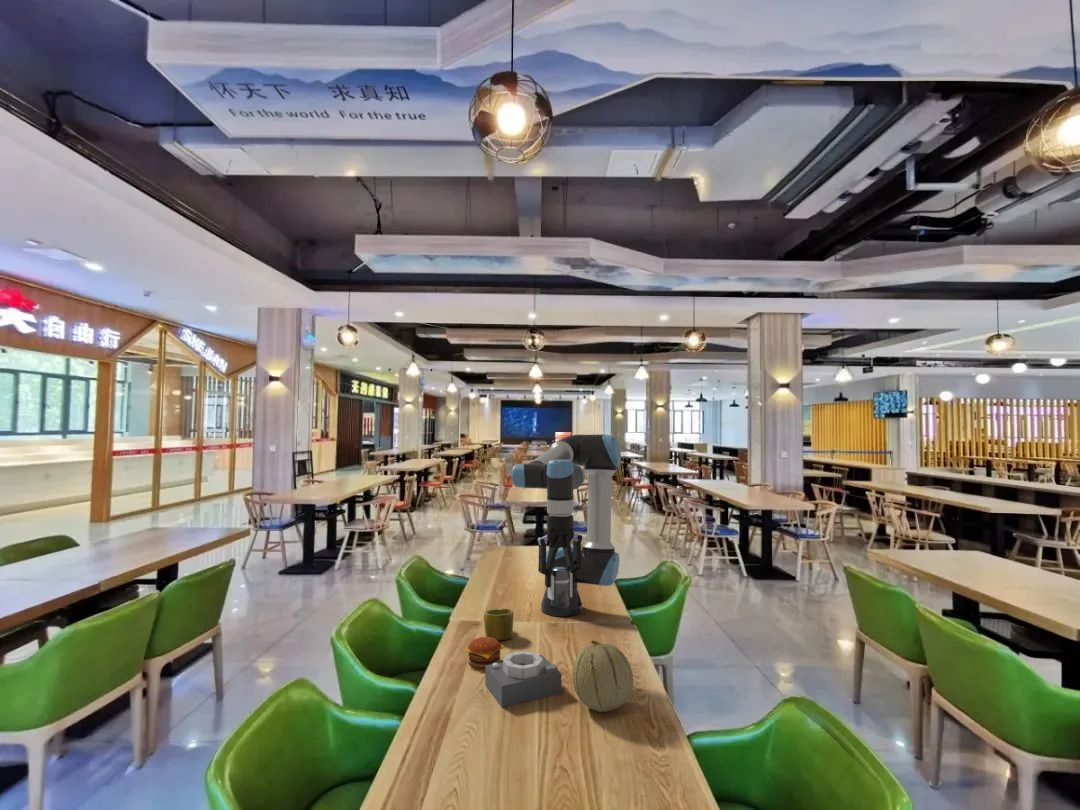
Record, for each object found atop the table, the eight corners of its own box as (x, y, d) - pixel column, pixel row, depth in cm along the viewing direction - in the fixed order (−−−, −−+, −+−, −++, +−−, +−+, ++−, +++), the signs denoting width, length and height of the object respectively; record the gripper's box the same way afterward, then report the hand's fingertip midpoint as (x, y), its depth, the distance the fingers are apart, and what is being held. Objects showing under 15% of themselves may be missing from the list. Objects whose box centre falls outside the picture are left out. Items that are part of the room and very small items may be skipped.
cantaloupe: (618, 732, 116) (618, 662, 117) (560, 712, 124) (560, 647, 124) (643, 702, 128) (642, 639, 129) (589, 686, 136) (588, 627, 137)
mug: (513, 639, 162) (505, 606, 165) (483, 647, 164) (475, 614, 167) (524, 632, 173) (517, 601, 176) (496, 640, 175) (489, 609, 178)
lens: (563, 601, 152) (563, 565, 153) (572, 606, 148) (572, 569, 148) (548, 603, 150) (548, 567, 151) (556, 609, 146) (556, 571, 146)
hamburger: (489, 673, 144) (489, 648, 144) (461, 665, 149) (461, 641, 149) (507, 659, 152) (507, 636, 153) (480, 653, 157) (480, 630, 157)
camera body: (541, 673, 143) (541, 645, 144) (561, 693, 133) (561, 663, 133) (485, 685, 137) (485, 655, 137) (501, 707, 126) (501, 675, 126)
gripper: (581, 510, 158) (581, 589, 156) (525, 514, 150) (525, 597, 149) (594, 514, 151) (594, 596, 150) (536, 518, 143) (536, 605, 142)
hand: (559, 597), depth 149 cm, fingers closed on lens, 5 cm apart
